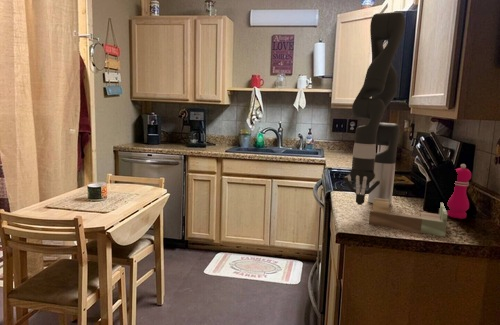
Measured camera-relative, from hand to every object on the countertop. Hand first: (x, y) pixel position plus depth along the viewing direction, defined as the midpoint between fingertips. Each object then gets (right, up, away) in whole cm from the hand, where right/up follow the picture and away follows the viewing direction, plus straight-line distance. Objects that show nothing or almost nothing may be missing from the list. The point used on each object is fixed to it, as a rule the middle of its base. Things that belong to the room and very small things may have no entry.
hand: (359, 204), depth 130 cm
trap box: (+15, -6, -2) cm, 16 cm away
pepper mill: (+39, -6, +8) cm, 40 cm away
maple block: (+6, -3, -2) cm, 8 cm away
